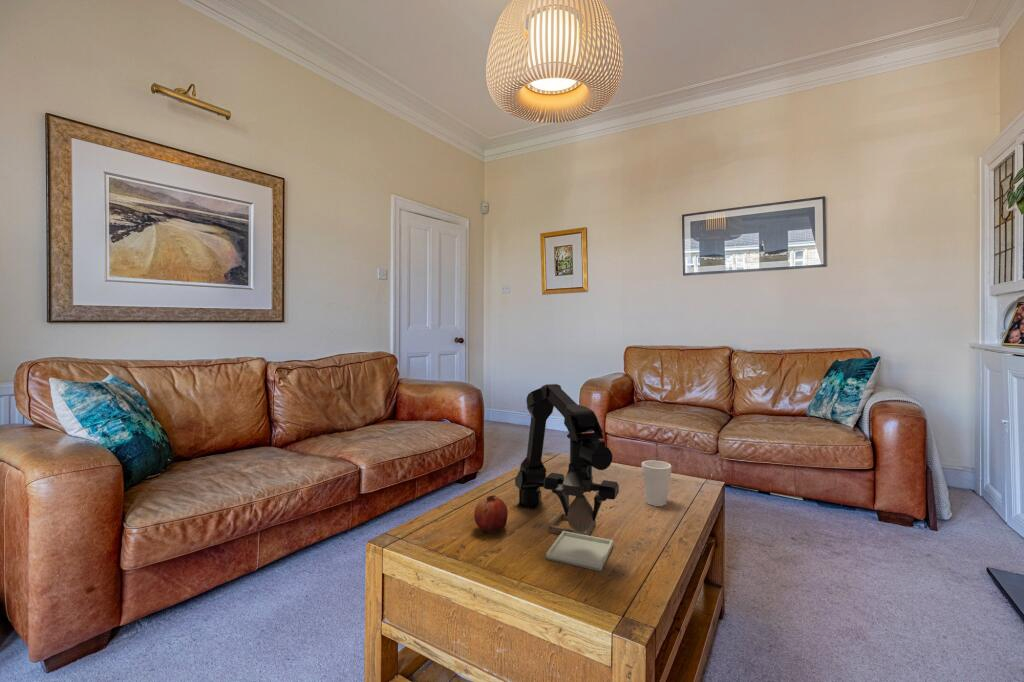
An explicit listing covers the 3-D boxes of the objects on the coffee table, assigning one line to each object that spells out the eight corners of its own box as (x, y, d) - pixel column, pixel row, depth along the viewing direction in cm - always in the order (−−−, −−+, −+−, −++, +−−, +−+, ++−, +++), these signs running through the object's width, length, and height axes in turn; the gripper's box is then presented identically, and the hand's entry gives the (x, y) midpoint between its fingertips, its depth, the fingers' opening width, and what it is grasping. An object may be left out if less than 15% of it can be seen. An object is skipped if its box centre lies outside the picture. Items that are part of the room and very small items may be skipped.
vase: (593, 536, 113) (593, 502, 113) (566, 534, 115) (566, 500, 114) (594, 524, 120) (594, 492, 120) (568, 522, 121) (568, 490, 121)
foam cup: (639, 505, 148) (640, 466, 148) (642, 496, 157) (643, 459, 157) (670, 510, 145) (670, 470, 144) (671, 500, 153) (672, 462, 153)
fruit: (501, 541, 124) (501, 505, 123) (468, 535, 127) (468, 500, 126) (513, 525, 134) (513, 491, 133) (482, 520, 137) (482, 488, 137)
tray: (546, 559, 114) (546, 553, 114) (563, 536, 127) (563, 530, 126) (601, 571, 108) (601, 565, 108) (613, 545, 121) (613, 540, 121)
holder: (548, 532, 129) (548, 526, 129) (560, 517, 139) (560, 511, 139) (586, 539, 124) (586, 533, 124) (595, 524, 134) (595, 518, 134)
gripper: (536, 462, 113) (535, 523, 114) (610, 472, 106) (609, 538, 106) (550, 451, 123) (550, 507, 124) (619, 459, 116) (619, 519, 116)
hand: (580, 517), depth 117 cm, fingers closed on vase, 7 cm apart
